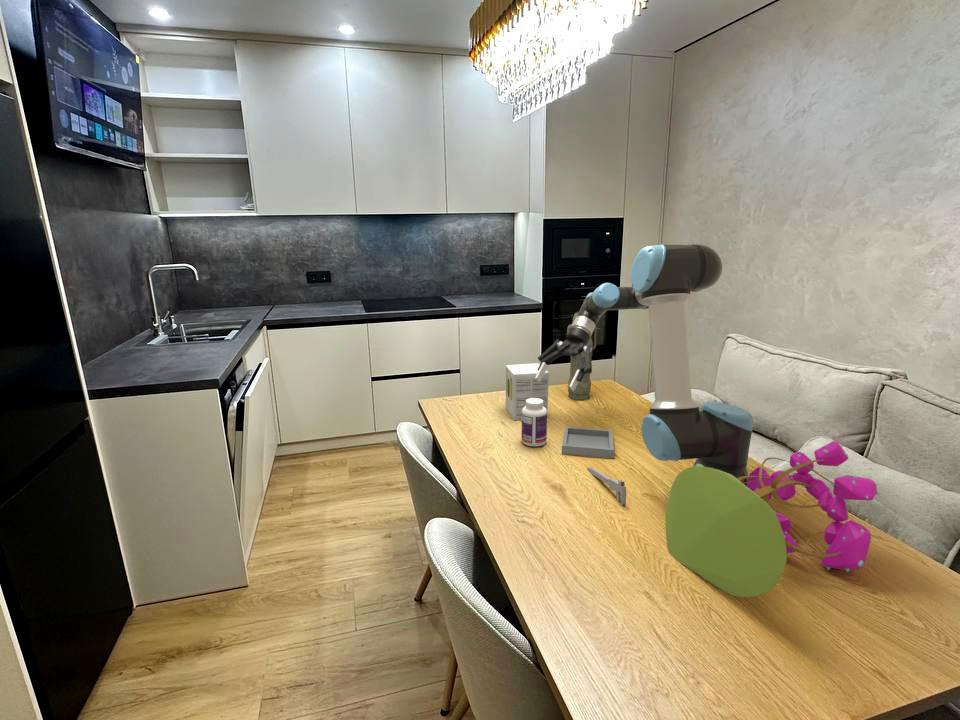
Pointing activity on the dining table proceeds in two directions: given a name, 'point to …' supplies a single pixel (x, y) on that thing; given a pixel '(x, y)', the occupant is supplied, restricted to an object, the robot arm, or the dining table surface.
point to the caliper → (612, 485)
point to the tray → (588, 442)
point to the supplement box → (524, 387)
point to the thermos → (585, 385)
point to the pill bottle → (534, 423)
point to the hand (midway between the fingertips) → (554, 384)
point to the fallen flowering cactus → (760, 521)
